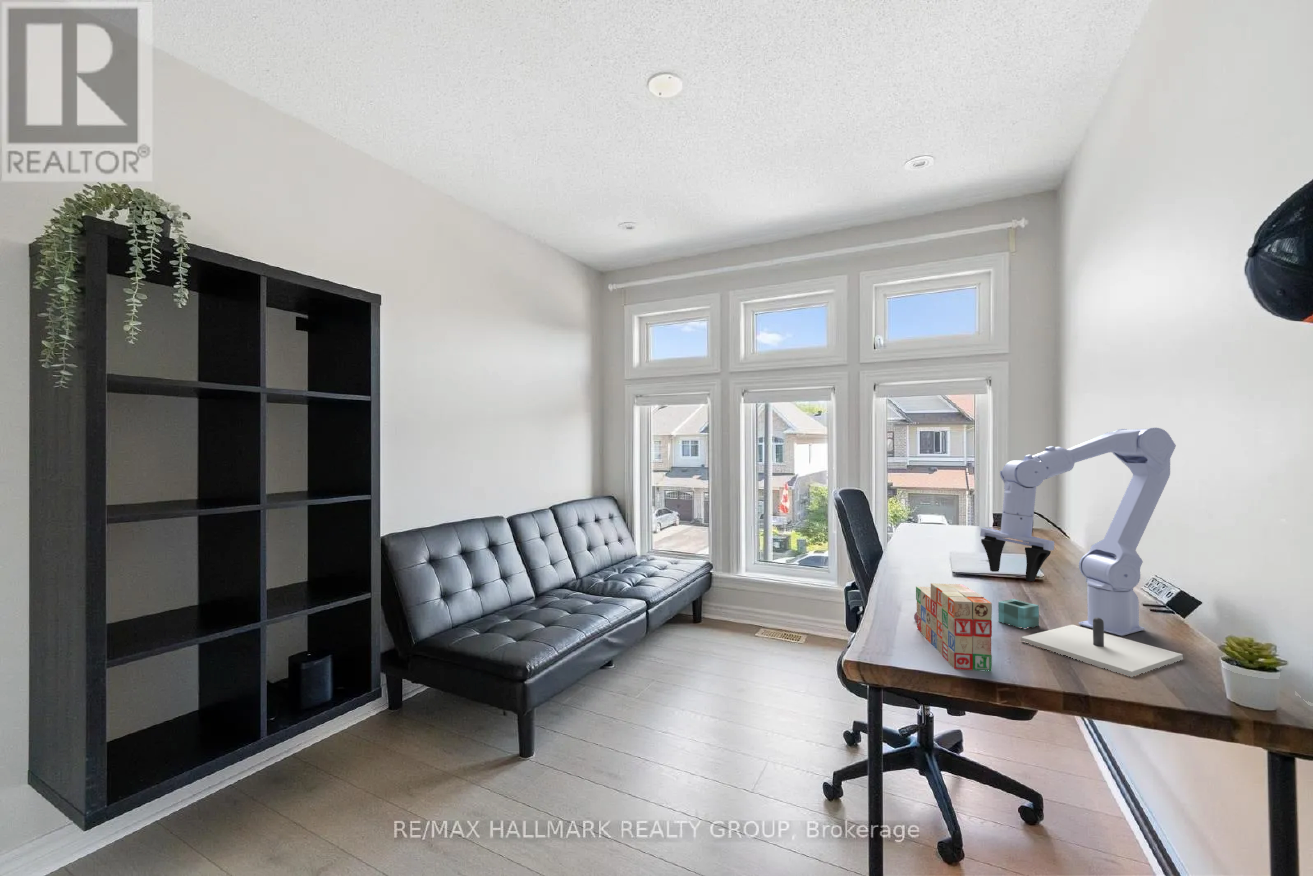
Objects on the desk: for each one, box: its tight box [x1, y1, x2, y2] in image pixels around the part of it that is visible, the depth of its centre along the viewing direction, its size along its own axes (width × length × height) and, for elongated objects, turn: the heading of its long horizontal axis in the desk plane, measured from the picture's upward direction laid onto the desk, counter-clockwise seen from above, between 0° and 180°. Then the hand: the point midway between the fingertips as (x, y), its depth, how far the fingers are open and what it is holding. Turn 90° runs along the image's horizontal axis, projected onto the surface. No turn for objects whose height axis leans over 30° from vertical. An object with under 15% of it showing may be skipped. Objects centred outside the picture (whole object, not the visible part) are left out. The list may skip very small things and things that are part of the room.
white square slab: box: [1020, 618, 1184, 678], centre depth 102 cm, size 18×18×6 cm
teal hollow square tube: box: [997, 598, 1040, 628], centre depth 117 cm, size 5×5×4 cm
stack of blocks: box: [915, 582, 993, 672], centre depth 104 cm, size 21×6×12 cm, turn 170°
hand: (1011, 575), depth 116 cm, fingers open, 7 cm apart
